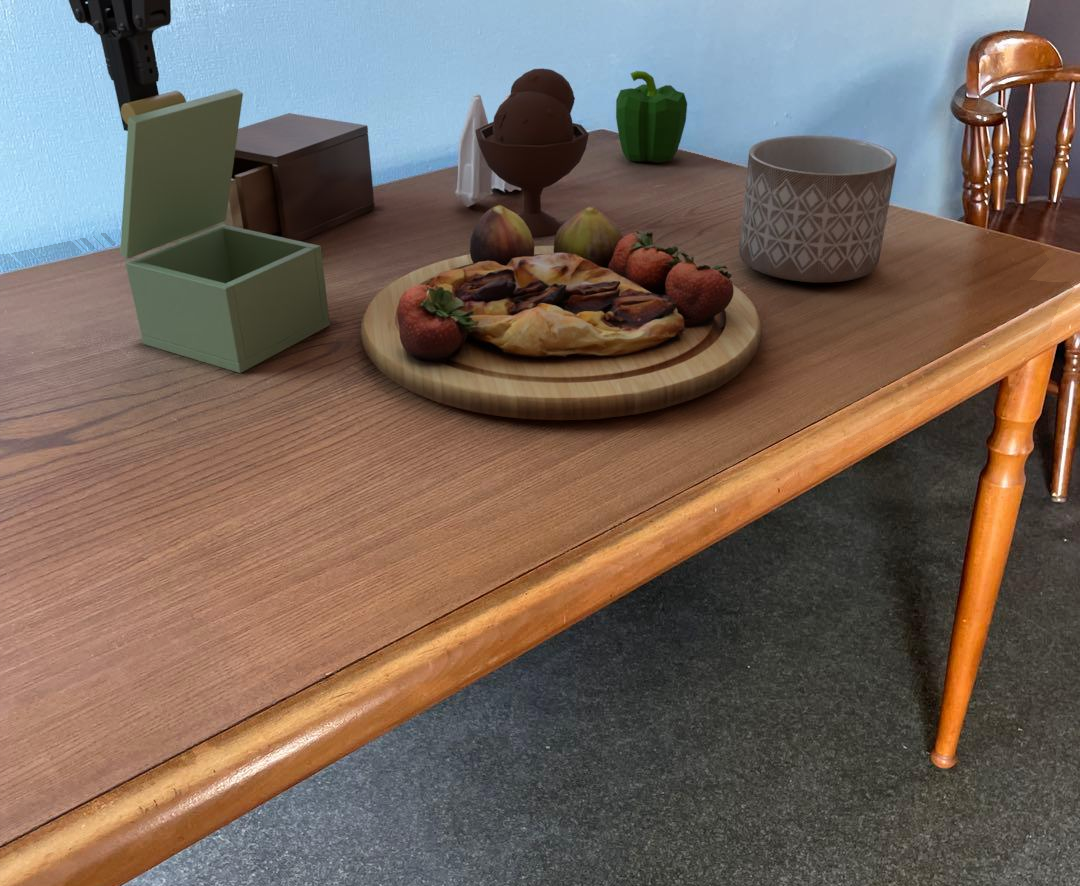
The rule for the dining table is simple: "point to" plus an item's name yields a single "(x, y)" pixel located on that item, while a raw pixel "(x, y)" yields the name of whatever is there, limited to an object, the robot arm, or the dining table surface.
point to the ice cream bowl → (534, 141)
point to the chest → (229, 296)
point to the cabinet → (312, 170)
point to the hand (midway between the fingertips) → (144, 127)
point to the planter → (815, 207)
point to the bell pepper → (650, 120)
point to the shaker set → (475, 159)
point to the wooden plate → (561, 324)
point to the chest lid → (177, 166)
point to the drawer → (251, 199)
